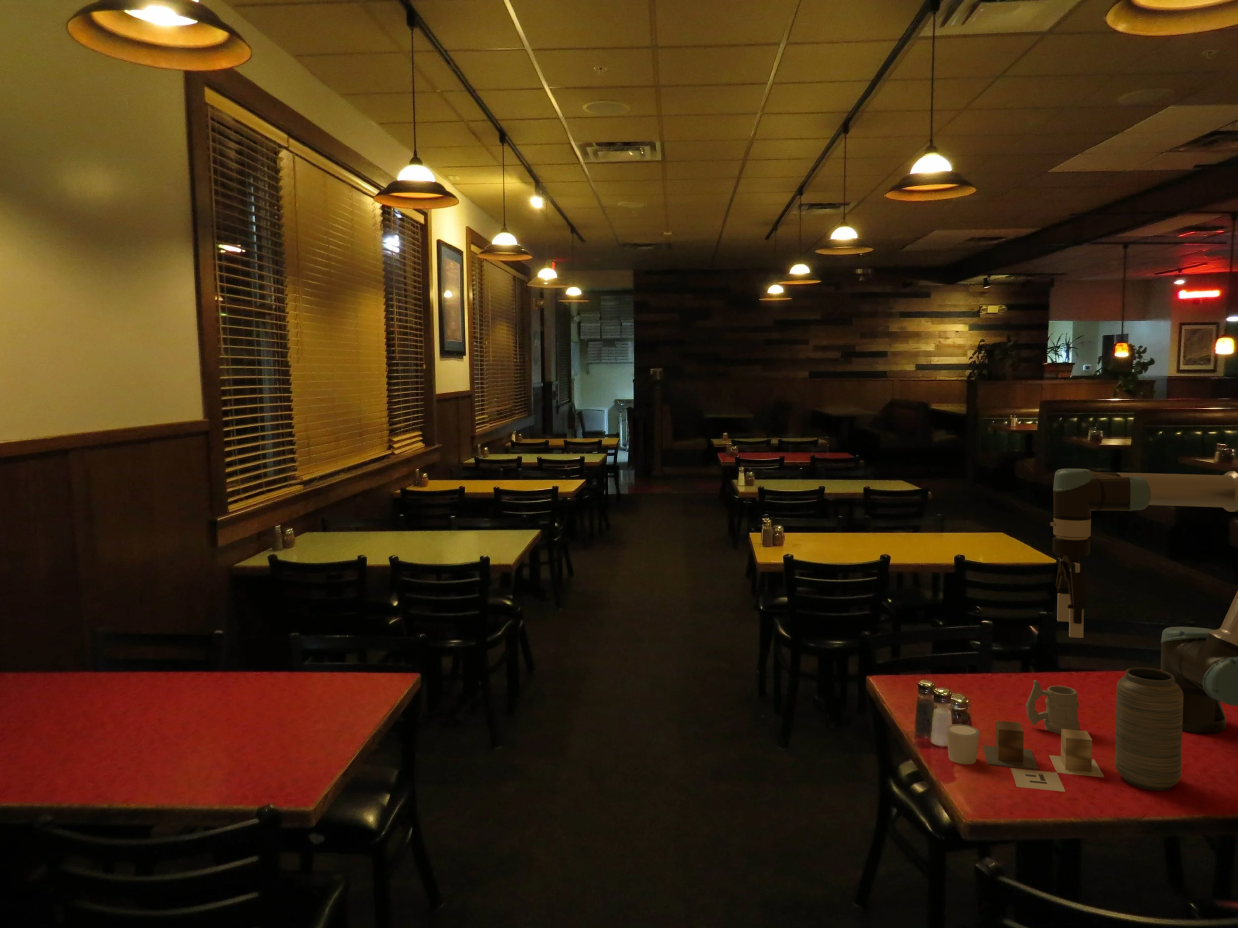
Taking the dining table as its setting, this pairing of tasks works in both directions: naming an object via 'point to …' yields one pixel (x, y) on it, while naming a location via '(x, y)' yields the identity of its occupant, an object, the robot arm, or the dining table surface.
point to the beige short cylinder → (962, 743)
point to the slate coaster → (1026, 764)
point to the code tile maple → (1060, 769)
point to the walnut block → (1009, 741)
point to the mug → (1055, 708)
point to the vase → (1149, 729)
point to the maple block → (1076, 750)
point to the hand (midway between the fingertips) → (1069, 628)
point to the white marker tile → (1037, 779)
